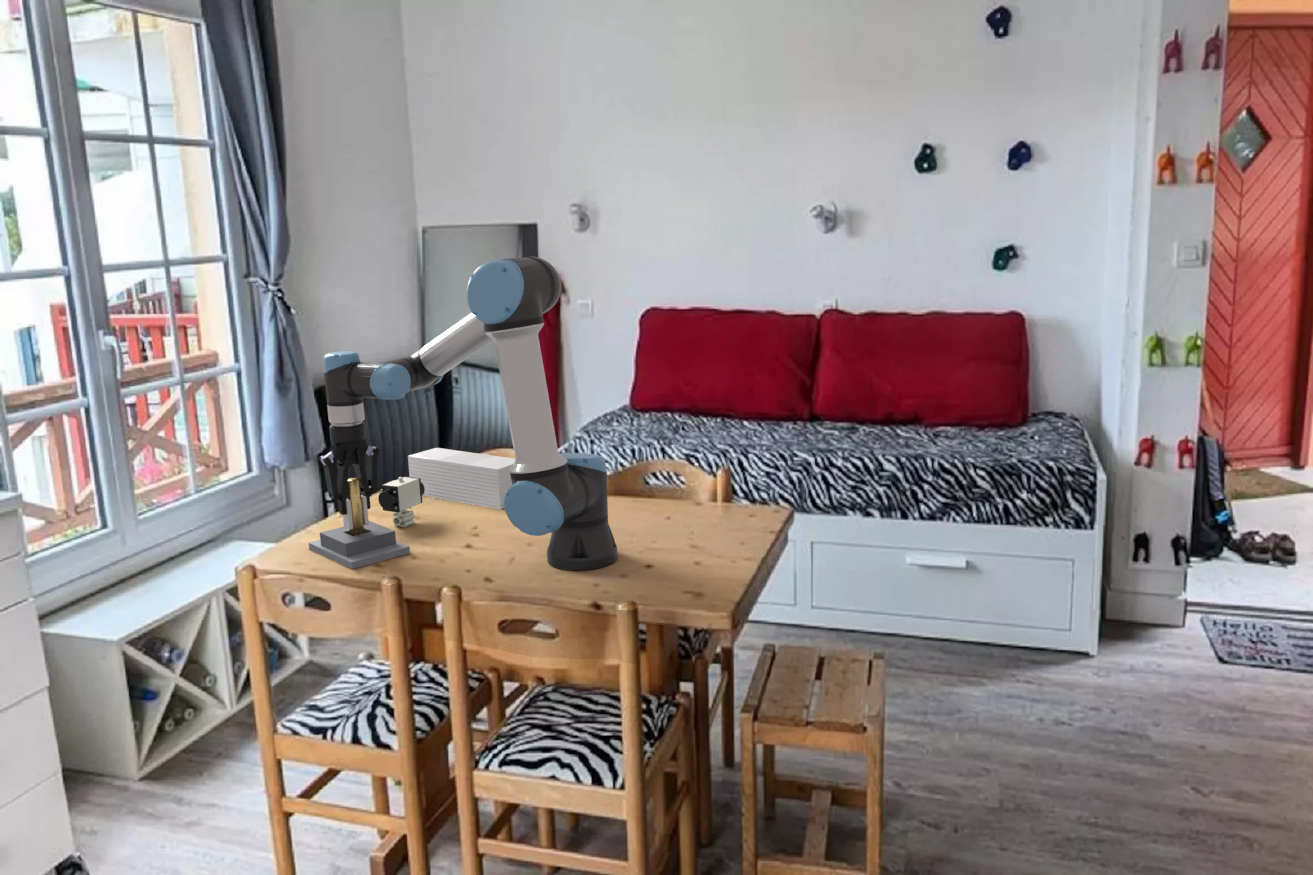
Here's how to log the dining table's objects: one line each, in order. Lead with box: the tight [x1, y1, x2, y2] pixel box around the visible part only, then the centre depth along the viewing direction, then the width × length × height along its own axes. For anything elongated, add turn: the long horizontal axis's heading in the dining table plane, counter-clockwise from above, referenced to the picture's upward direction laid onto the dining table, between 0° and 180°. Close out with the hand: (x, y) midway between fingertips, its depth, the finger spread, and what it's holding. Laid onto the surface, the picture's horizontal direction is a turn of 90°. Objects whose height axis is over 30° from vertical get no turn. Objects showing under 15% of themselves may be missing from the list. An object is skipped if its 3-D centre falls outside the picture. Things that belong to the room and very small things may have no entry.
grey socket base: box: [308, 520, 411, 570], centre depth 231 cm, size 20×14×4 cm
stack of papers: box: [407, 447, 515, 510], centre depth 273 cm, size 32×11×11 cm, turn 57°
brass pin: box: [347, 477, 365, 536], centre depth 230 cm, size 3×3×15 cm
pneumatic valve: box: [378, 476, 425, 529], centre depth 249 cm, size 6×12×12 cm, turn 153°
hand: (356, 525), depth 231 cm, fingers closed on brass pin, 3 cm apart
